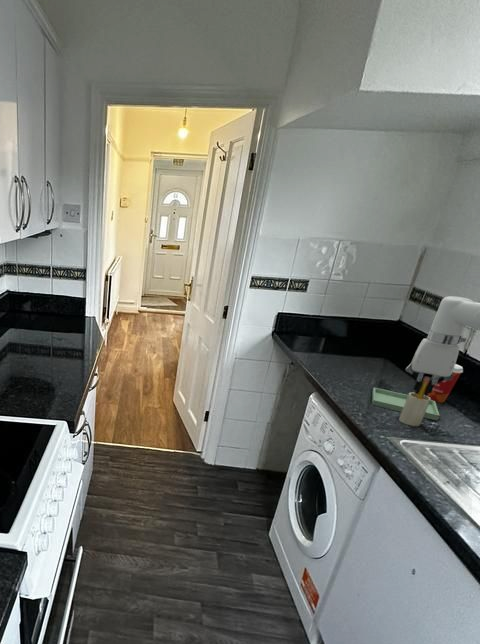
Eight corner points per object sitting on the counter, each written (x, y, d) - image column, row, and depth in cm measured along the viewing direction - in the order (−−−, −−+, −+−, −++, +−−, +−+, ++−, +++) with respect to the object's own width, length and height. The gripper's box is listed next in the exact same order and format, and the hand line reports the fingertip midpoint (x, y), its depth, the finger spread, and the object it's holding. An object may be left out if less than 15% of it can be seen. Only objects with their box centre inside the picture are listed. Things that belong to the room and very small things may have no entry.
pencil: (412, 421, 137) (430, 377, 130) (412, 423, 135) (431, 378, 129) (405, 420, 138) (423, 375, 131) (406, 422, 136) (424, 377, 130)
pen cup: (418, 422, 138) (429, 395, 134) (420, 429, 133) (431, 401, 129) (397, 417, 140) (408, 390, 136) (398, 424, 136) (409, 396, 132)
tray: (432, 405, 151) (435, 400, 150) (437, 420, 140) (439, 415, 139) (372, 392, 160) (373, 387, 159) (371, 405, 149) (373, 400, 148)
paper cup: (418, 393, 160) (433, 360, 154) (439, 395, 159) (455, 362, 153) (430, 402, 153) (446, 368, 147) (452, 405, 152) (469, 370, 146)
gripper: (474, 340, 124) (449, 396, 132) (410, 330, 132) (391, 383, 139) (479, 346, 118) (453, 404, 126) (412, 335, 126) (392, 390, 133)
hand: (420, 392), depth 132 cm, fingers closed on pencil, 1 cm apart
